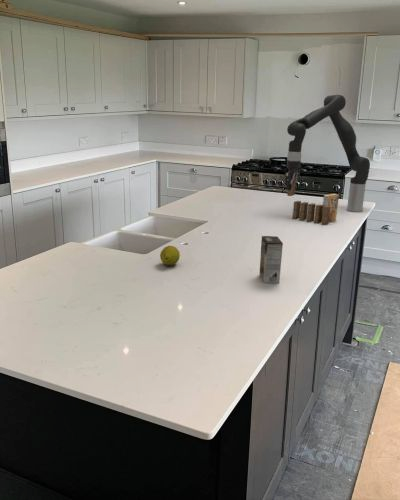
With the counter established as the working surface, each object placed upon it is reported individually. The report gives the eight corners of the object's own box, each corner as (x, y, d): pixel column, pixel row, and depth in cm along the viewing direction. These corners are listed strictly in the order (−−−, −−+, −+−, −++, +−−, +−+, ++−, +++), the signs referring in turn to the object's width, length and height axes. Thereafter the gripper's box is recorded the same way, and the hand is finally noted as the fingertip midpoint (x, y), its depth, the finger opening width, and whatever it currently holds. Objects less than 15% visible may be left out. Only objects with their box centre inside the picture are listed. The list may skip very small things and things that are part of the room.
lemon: (166, 260, 217) (166, 241, 214) (183, 262, 214) (183, 244, 212) (155, 267, 207) (155, 248, 205) (172, 270, 204) (172, 251, 202)
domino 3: (303, 218, 295) (305, 201, 292) (306, 219, 294) (308, 202, 291) (299, 220, 291) (301, 203, 288) (302, 221, 290) (304, 203, 287)
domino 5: (317, 221, 289) (319, 204, 286) (321, 222, 288) (323, 204, 285) (314, 223, 286) (315, 205, 283) (317, 223, 285) (319, 206, 282)
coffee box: (258, 274, 202) (261, 235, 198) (274, 274, 203) (277, 235, 198) (263, 283, 194) (266, 242, 189) (279, 283, 194) (283, 242, 190)
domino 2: (296, 217, 297) (298, 200, 294) (299, 218, 296) (301, 201, 293) (292, 219, 294) (293, 201, 291) (295, 219, 292) (297, 202, 289)
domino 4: (310, 220, 292) (312, 203, 289) (313, 220, 291) (315, 203, 288) (306, 221, 288) (308, 204, 285) (309, 222, 287) (311, 204, 284)
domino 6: (325, 223, 287) (327, 205, 284) (328, 223, 286) (330, 206, 283) (321, 224, 283) (323, 207, 280) (324, 225, 282) (326, 207, 279)
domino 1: (291, 194, 296) (292, 177, 293) (294, 195, 295) (296, 177, 292) (287, 195, 292) (288, 178, 289) (290, 196, 291) (291, 178, 288)
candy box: (330, 219, 295) (333, 193, 291) (336, 221, 292) (339, 194, 287) (320, 221, 290) (323, 194, 285) (326, 223, 287) (329, 196, 282)
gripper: (294, 157, 295) (291, 187, 300) (281, 160, 284) (279, 190, 289) (305, 159, 291) (303, 188, 296) (293, 161, 280) (291, 192, 285)
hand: (291, 189), depth 293 cm, fingers closed on domino 1, 5 cm apart
